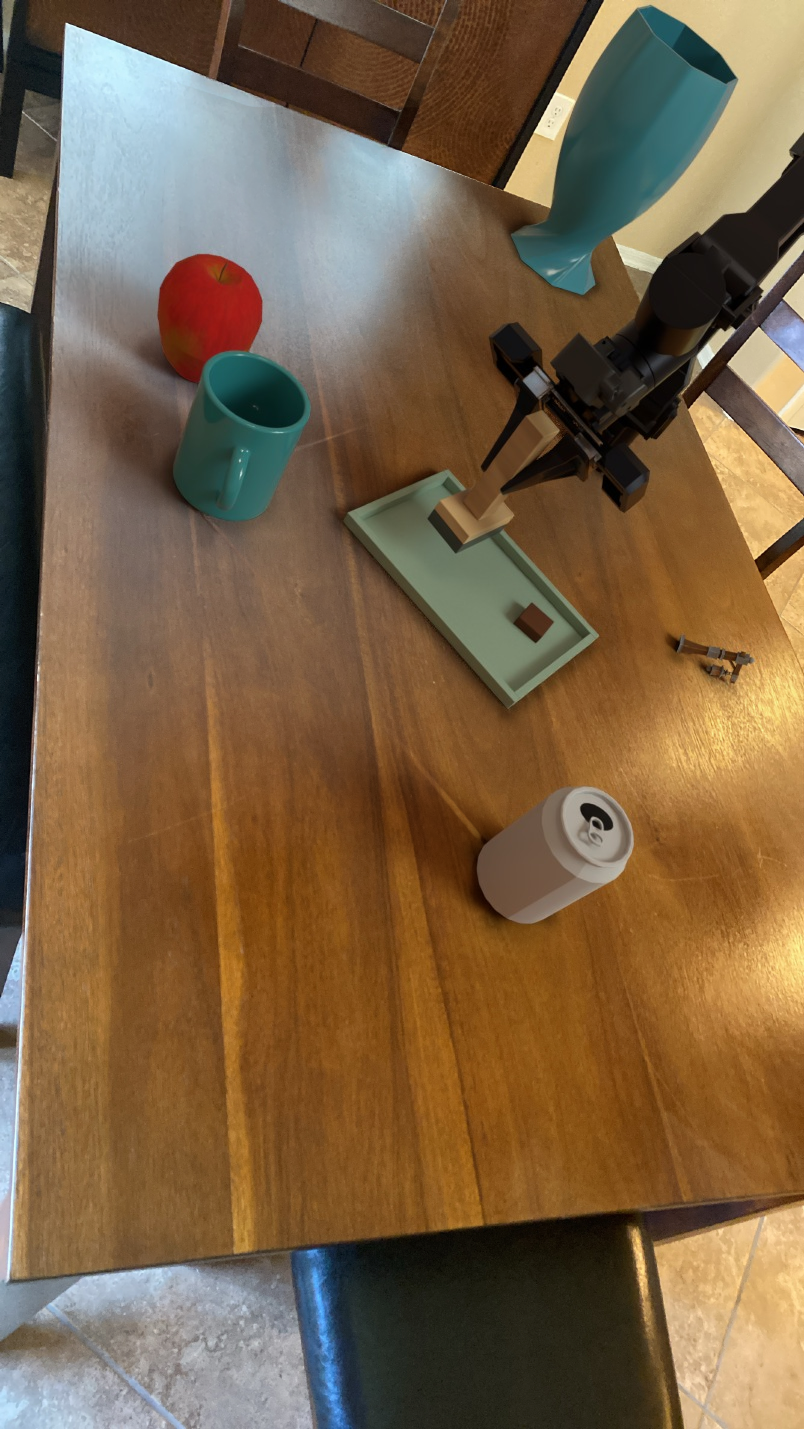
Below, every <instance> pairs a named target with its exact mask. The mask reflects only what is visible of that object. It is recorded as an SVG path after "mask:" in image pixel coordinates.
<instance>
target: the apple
mask: <svg viewBox="0 0 804 1429" xmlns="http://www.w3.org/2000/svg"><path fill="white" fill-rule="evenodd" d="M158 290H159V291H158V303H157V312H156V313H157V314H156V317H157V323H158V324H157V325H158V331H159V337H160V345H161V348H162V352H163V354H164V356H165V358H166V359H167V361H168V362H169V363H170V365H171V367H173V370H175V371H176V373H178V374H179V376H180V377H182V378H183V379H184V380H187V381H189V382H192V383H196V384H198V383H199V379H200V376H201V373H202V370H203V367H204V365H205V363H206V362H207V361H208V360H209V359H210V358H211V357H213V356H214V355H216V354H218V353H221V352H225V351H246V352H250V350H251V347H252V345H253V344H254V342H255V340H256V337H257V335H258V334H259V332H260V328H261V326H262V323H263V308H264V307H263V305H264V304H263V303H264V302H263V298H262V295H261V292H260V288H259V287H258V285H257V283H256V281H255V280H254V277H253V275H251V274H250V273H249V271H247V270H246V269H245V268H244V267H243V266H241V265H239V264H238V263H236V262H235V261H233V260H230V259H229V258H226V257H224V256H222V255H217V254H211V253H196V254H193V255H190V256H187V257H184V258H182V259H180V260H178V261H176V262H175V263H174V265H173V266H171V268H170V270H169V271H168V272H167V273H166V275H164V278H163V280H162V282H161V284H160V286H159V289H158Z"/></svg>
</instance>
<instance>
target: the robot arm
mask: <svg viewBox="0 0 804 1429" xmlns="http://www.w3.org/2000/svg"><path fill="white" fill-rule="evenodd" d="M788 153H789V156H790V157H791V158H792V159H791V160H790V162H788V164H787V166H785V168H784V169H783V171H782V172H781V175H780V177H779V178H778V179H777V180H776V181H775V182H774V183H773V184H772V185H771V186H770V187H769V188H768V189H767V190H766V191H765V192H764V193H763V194H762V195H761V196H760V197H759V198H758V199H757V200H756V201H755V202H754V203H753V205H751V206H749V208H748V209H747V210H746V211H744V212H743V211H742V212H732V213H724V214H722V215H721V216H720V217H719V218H718V219H717V220H716V221H715V222H713V223H712V224H711V226H709V227H708V228H707V229H706V230H704V231H703V233H702V234H701V233H700V232H699V231H698V230H697V231H695V232H694V233H693V234H691V235H690V236H689V237H688V238H686V239H685V240H684V241H682V242H681V243H680V244H679V245H678V246H676V247H674V248H673V249H672V250H671V251H670V252H668V253H667V254H666V255H665V257H664V258H663V259H662V261H661V262H660V264H659V265H658V266H657V268H656V269H655V270H654V272H653V273H652V275H651V278H650V280H649V283H648V285H647V287H646V289H645V291H644V293H643V296H642V298H641V301H640V302H639V305H638V307H637V310H636V313H635V316H634V318H633V319H632V320H631V321H629V322H628V323H627V324H625V325H624V326H623V327H622V328H621V329H619V330H618V331H617V332H616V333H615V334H614V335H612V337H609V335H606V336H604V337H602V338H600V339H599V340H598V341H597V342H596V343H594V344H593V343H591V342H590V340H588V339H587V337H585V336H584V335H583V333H581V332H580V331H578V332H577V333H576V334H575V335H574V336H573V337H572V338H571V339H570V340H569V342H568V343H567V344H566V345H565V346H564V347H563V348H562V349H561V350H560V351H559V352H558V353H557V354H556V355H555V356H554V358H552V360H551V361H550V362H549V364H550V366H551V367H552V368H553V369H554V370H555V377H556V378H557V379H558V382H557V383H556V382H555V381H554V380H553V379H552V378H551V376H549V374H548V373H547V372H546V371H545V369H544V364H543V363H544V362H543V360H544V359H543V349H542V347H541V346H540V345H539V344H538V343H537V342H536V340H534V338H533V337H532V336H531V335H530V334H529V333H528V332H527V330H526V329H525V328H523V326H522V325H521V324H520V323H519V322H518V321H514V322H508V323H507V322H506V323H503V324H501V325H500V326H499V327H498V328H497V329H496V330H494V331H493V332H492V333H491V334H490V335H489V336H488V342H489V347H490V352H491V358H492V364H493V365H494V367H495V369H496V370H497V372H498V373H499V374H500V375H501V377H503V379H504V380H505V381H506V382H507V384H508V385H509V386H510V387H511V388H512V389H513V390H514V396H515V401H516V402H515V405H514V408H513V410H512V412H511V414H510V417H509V418H508V420H507V422H506V424H505V426H504V428H503V429H502V431H501V432H500V434H499V436H498V437H497V439H496V440H495V442H494V444H493V446H492V447H491V448H490V450H489V452H488V454H487V455H486V456H485V458H484V460H483V462H482V463H481V465H480V470H481V471H482V472H483V473H484V472H485V471H486V469H487V468H488V467H489V465H490V464H491V463H492V461H493V460H494V458H495V457H496V456H497V454H498V453H499V452H500V450H501V449H502V448H503V446H504V445H505V444H506V442H507V441H508V440H509V438H510V437H511V435H512V434H513V433H514V431H515V430H516V429H517V427H518V426H519V425H520V423H521V422H522V421H523V419H524V418H525V416H527V415H530V414H532V413H535V412H538V411H541V410H543V411H544V413H545V414H546V412H548V411H549V413H550V414H551V415H552V416H553V417H554V418H555V419H556V421H557V422H558V423H559V424H560V425H561V427H563V428H564V430H565V431H566V433H565V434H564V436H562V437H561V438H560V440H558V442H557V443H556V444H555V445H554V446H553V447H552V448H551V449H550V450H548V451H547V452H546V453H544V454H543V455H540V456H539V457H538V459H537V460H536V461H534V462H533V463H532V464H530V465H529V466H527V467H526V468H525V469H523V470H522V471H520V472H519V473H518V474H517V475H515V476H514V477H513V478H512V479H511V480H509V481H508V482H507V483H506V484H505V485H503V486H502V487H501V488H500V492H501V494H502V495H506V494H509V493H510V494H512V493H516V492H518V491H521V490H524V489H527V488H531V487H533V486H536V485H541V484H543V483H546V482H550V481H555V480H556V481H557V480H562V479H567V478H572V477H577V478H578V479H579V480H580V481H581V482H585V481H587V480H588V479H589V475H590V474H591V473H592V472H593V471H595V470H596V469H597V470H598V471H599V472H600V473H602V474H603V475H602V480H601V491H602V492H603V494H605V496H607V498H608V499H609V500H610V501H611V502H612V503H613V505H614V506H615V507H616V508H617V509H618V511H620V512H622V513H623V514H626V512H628V511H629V510H630V509H632V507H635V505H637V503H639V502H640V501H641V500H642V499H643V498H644V497H645V495H646V491H647V489H648V485H649V482H650V474H651V470H650V469H649V468H648V467H647V466H646V464H645V463H644V462H643V461H642V460H641V459H640V458H639V456H637V454H636V453H635V452H634V451H633V450H632V449H631V448H630V446H631V444H632V443H633V442H634V441H635V440H636V439H637V438H638V436H641V437H642V438H643V440H645V441H646V442H647V441H649V440H650V439H651V440H658V438H659V437H660V436H662V435H663V433H664V432H665V431H666V430H667V428H669V426H670V425H671V424H672V423H673V421H674V420H675V419H676V418H677V417H678V409H679V408H680V405H681V404H682V402H683V400H682V398H680V396H681V394H683V392H684V391H686V389H687V388H688V387H689V386H690V384H691V382H692V377H693V372H694V369H695V364H696V360H697V357H698V355H699V354H700V353H701V352H702V351H703V349H704V348H705V347H706V346H707V345H708V343H709V342H710V341H711V340H712V339H713V338H714V337H715V335H717V333H718V332H719V331H720V330H722V331H723V332H724V333H726V332H727V331H729V330H730V329H731V328H733V330H735V331H737V330H738V329H740V328H741V327H742V326H743V325H744V324H745V323H746V322H747V321H748V320H749V319H750V318H751V317H752V316H753V315H754V314H755V313H756V312H757V311H758V309H759V307H760V300H761V299H762V298H763V293H764V292H765V290H764V289H763V288H761V287H760V286H761V285H762V283H763V282H764V281H765V280H766V278H767V277H768V276H769V275H770V274H771V272H772V271H773V269H775V267H776V266H777V265H778V264H779V262H781V260H782V259H783V258H784V257H785V255H786V254H787V253H788V252H789V251H790V250H791V249H792V248H793V247H794V246H795V244H796V243H797V242H798V241H799V240H800V238H802V237H803V236H804V131H803V132H802V133H801V135H800V136H799V137H798V139H796V140H795V142H794V143H793V144H792V145H791V147H790V148H789V150H788ZM510 494H509V495H510Z"/></svg>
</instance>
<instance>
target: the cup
mask: <svg viewBox="0 0 804 1429" xmlns="http://www.w3.org/2000/svg"><path fill="white" fill-rule="evenodd" d="M311 411H312V408H311V401H310V398H309V395H308V393H307V390H306V389H305V387H304V386H303V385H302V383H301V382H300V381H299V379H297V377H296V376H295V375H294V374H293V373H292V372H290V371H289V370H288V369H287V368H285V367H284V366H283V365H281V364H279V363H278V362H276V361H274V360H273V359H271V358H268V357H266V356H263V355H260V354H258V353H254V352H250V351H249V352H246V351H225V352H221V353H218V354H216V355H214V356H213V357H211V358H210V359H209V360H208V361H207V362H206V363H205V365H204V367H203V370H202V373H201V376H200V379H199V383H197V385H196V389H195V393H194V395H193V399H192V402H191V406H190V409H189V411H188V415H187V418H186V421H185V425H184V428H183V430H182V434H181V437H180V441H179V443H178V447H177V450H176V453H175V456H174V459H173V463H172V476H173V480H174V483H175V486H176V487H177V490H178V491H179V493H180V494H181V496H182V497H183V498H184V499H185V500H186V501H187V503H189V504H190V505H191V506H192V507H194V508H195V509H196V510H198V511H199V512H201V513H202V514H204V515H207V516H211V517H213V518H216V519H219V520H224V521H229V522H243V521H250V520H253V519H256V518H258V517H259V516H261V515H262V514H263V513H265V512H266V510H267V509H268V508H269V506H270V504H271V502H272V501H273V498H274V496H275V494H276V492H277V490H278V487H279V486H280V483H281V481H282V478H283V476H284V474H285V472H286V470H287V467H288V465H289V464H290V461H291V459H292V456H293V455H294V452H295V450H296V448H297V446H298V443H299V441H300V439H301V437H302V435H303V433H304V431H305V429H306V426H307V424H308V422H309V420H310V417H311Z"/></svg>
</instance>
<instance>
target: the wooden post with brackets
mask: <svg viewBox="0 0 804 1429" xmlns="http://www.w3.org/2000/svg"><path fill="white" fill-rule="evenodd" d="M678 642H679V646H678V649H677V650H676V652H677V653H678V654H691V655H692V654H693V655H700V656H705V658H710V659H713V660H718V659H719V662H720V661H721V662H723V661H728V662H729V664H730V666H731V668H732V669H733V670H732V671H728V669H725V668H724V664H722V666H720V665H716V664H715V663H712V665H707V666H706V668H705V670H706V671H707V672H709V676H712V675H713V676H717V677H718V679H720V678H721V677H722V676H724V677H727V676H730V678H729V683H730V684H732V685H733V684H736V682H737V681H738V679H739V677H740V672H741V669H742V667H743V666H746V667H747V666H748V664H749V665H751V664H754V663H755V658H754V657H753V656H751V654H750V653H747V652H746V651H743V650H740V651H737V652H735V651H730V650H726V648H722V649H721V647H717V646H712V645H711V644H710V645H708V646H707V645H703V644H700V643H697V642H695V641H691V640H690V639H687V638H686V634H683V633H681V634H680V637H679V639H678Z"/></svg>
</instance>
